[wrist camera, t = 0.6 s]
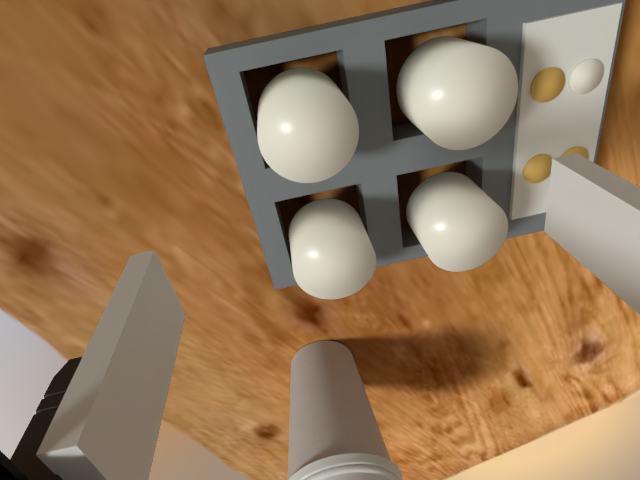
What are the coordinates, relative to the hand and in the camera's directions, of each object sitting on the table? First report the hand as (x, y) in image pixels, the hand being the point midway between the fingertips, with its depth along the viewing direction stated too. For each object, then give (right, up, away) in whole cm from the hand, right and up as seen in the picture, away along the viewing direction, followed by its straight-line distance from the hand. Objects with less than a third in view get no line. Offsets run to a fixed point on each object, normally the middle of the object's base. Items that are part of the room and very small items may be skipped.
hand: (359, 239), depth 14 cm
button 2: (-2, +8, +13) cm, 16 cm away
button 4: (+6, +10, +13) cm, 18 cm away
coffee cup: (-1, -13, +30) cm, 33 cm away
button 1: (-1, +1, +18) cm, 18 cm away
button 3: (+8, +3, +18) cm, 20 cm away
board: (+6, +8, +18) cm, 21 cm away
